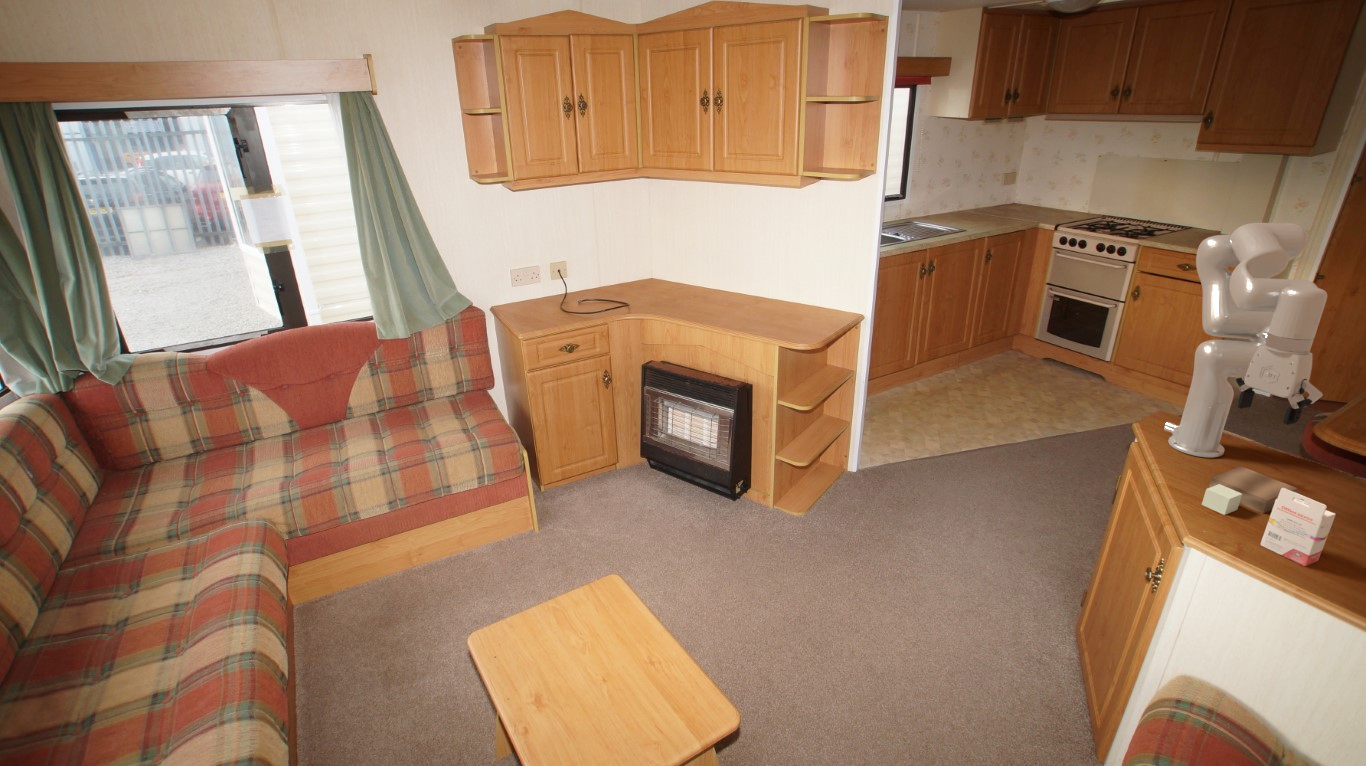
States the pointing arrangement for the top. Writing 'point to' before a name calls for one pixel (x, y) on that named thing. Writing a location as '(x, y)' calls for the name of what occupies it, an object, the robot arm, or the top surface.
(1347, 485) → the top surface
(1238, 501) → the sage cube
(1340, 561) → the top surface
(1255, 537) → the top surface
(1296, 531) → the ink cartridge box
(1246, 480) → the walnut block
